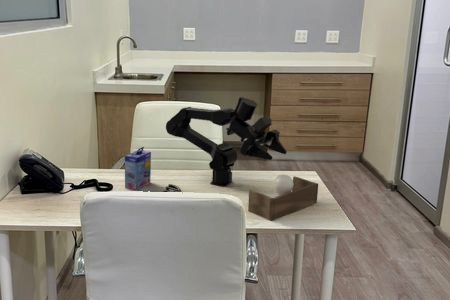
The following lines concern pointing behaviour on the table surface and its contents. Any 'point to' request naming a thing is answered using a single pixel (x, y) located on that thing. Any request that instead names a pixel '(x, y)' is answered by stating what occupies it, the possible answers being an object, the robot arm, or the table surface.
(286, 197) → the open box
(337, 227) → the table surface
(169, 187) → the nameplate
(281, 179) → the lightbulb
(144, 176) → the ink cartridge box
